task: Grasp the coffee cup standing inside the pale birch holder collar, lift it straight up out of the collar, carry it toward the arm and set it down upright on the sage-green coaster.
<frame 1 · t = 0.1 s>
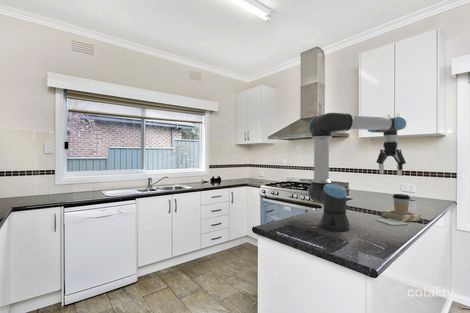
hand: (390, 174, 155), 28 cm above the countertop, fingers open, 13 cm apart
coaster: (391, 222, 142), on the countertop
coffee cup: (401, 218, 152), resting in holder
holder: (401, 218, 152), on the countertop
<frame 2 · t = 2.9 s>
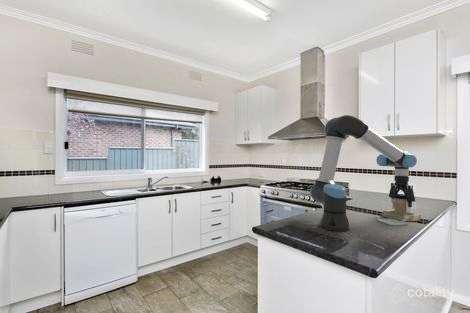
hand: (401, 210, 152), 5 cm above the countertop, fingers closed on coffee cup, 9 cm apart
coffee cup: (401, 218, 152), resting in holder, touching gripper
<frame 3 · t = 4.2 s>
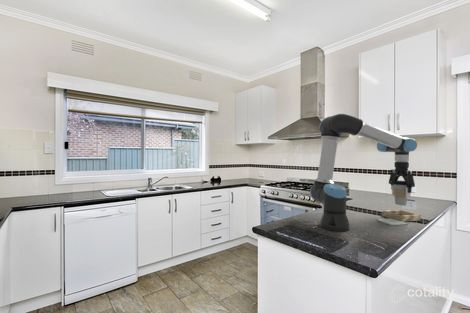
hand: (400, 196, 152), 14 cm above the countertop, fingers closed on coffee cup, 9 cm apart
coffee cup: (400, 204, 152), point 9 cm above the countertop, touching gripper
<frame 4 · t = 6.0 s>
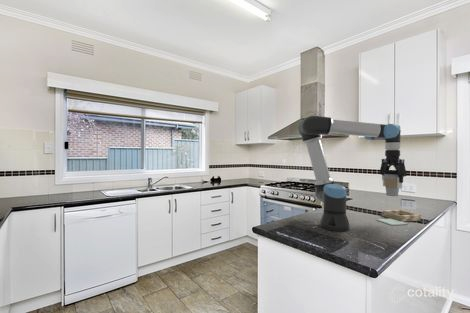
hand: (392, 187, 142), 21 cm above the countertop, fingers closed on coffee cup, 9 cm apart
coffee cup: (392, 195, 142), point 16 cm above the countertop, touching gripper
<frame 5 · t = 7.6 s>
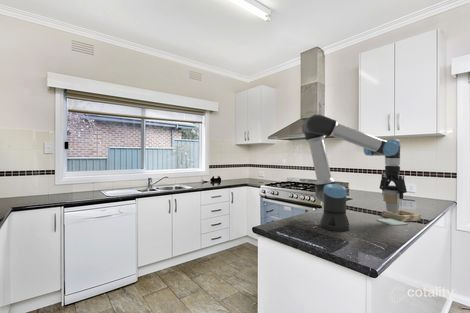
hand: (392, 202, 142), 12 cm above the countertop, fingers closed on coffee cup, 9 cm apart
coffee cup: (392, 211, 142), point 7 cm above the countertop, touching gripper
when the fingers open (7 cm above the countertop, at t = 9.1 s): coffee cup drops 1 cm, resting on coaster.
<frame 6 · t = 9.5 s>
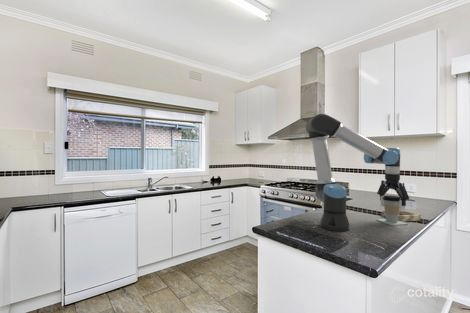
hand: (392, 208, 142), 8 cm above the countertop, fingers open, 13 cm apart
coffee cup: (391, 221, 142), resting on coaster
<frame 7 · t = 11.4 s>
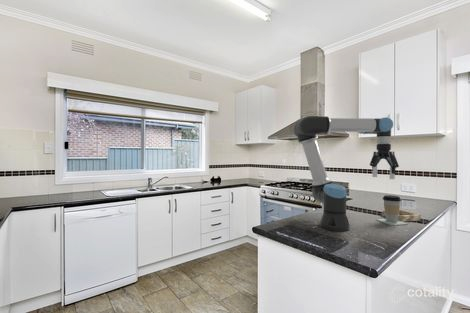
hand: (383, 178, 146), 26 cm above the countertop, fingers open, 13 cm apart
nothing on the countertop moved.
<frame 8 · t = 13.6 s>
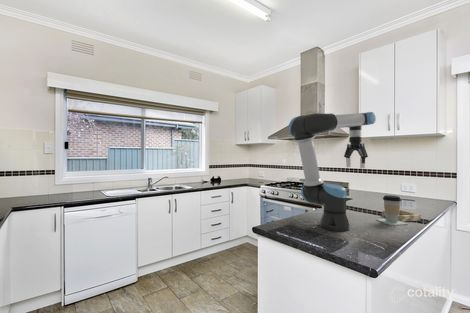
hand: (355, 167, 162), 32 cm above the countertop, fingers open, 13 cm apart
nothing on the countertop moved.
at the end: coffee cup inside the target area on the coaster (0.2 cm from its centre), point 0.4 cm above the coaster's base; coffee cup tilted 0°; the gripper is holding nothing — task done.
